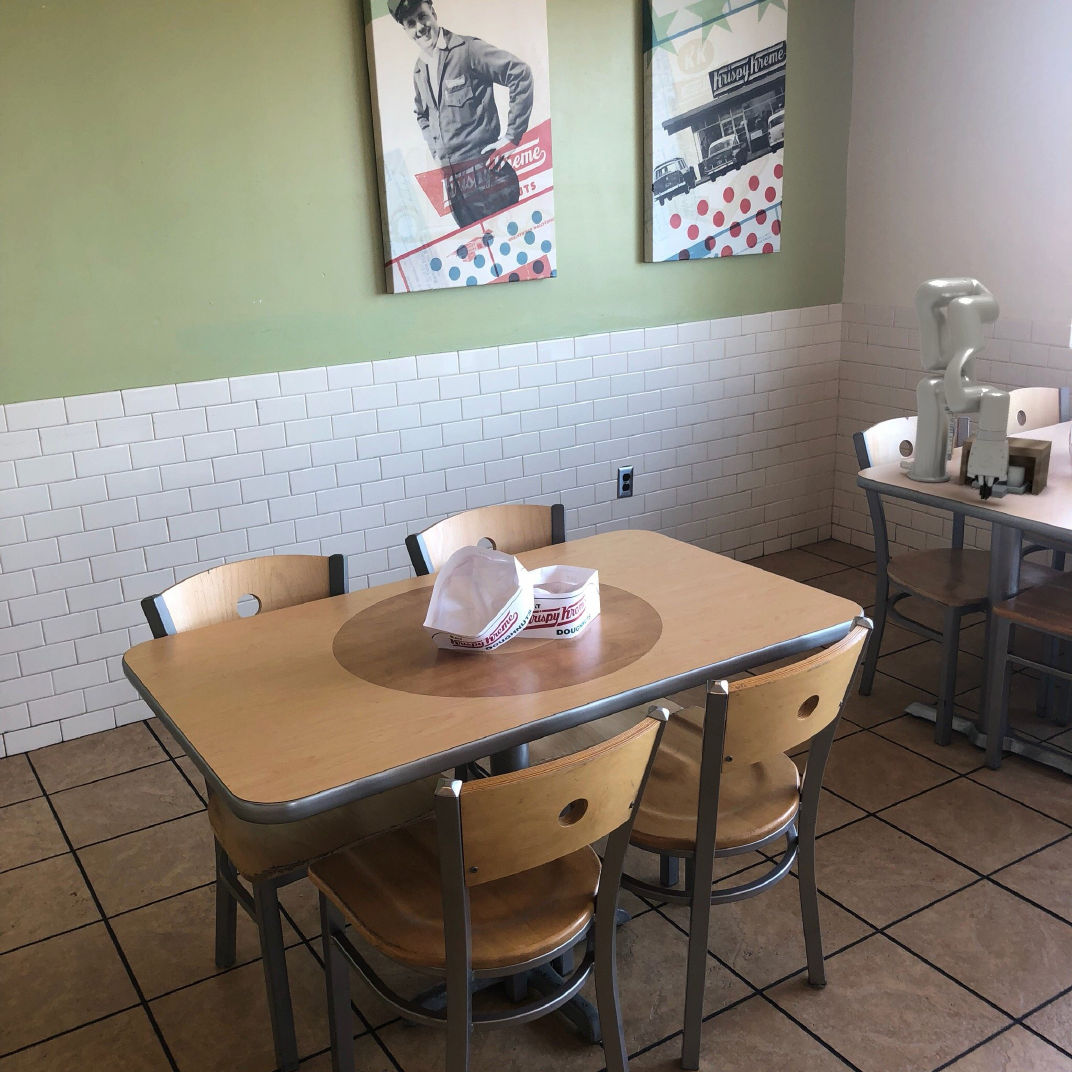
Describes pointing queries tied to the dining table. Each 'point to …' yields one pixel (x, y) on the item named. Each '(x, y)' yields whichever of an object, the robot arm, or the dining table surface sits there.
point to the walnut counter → (1018, 460)
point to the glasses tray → (1011, 489)
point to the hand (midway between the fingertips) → (985, 498)
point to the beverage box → (951, 431)
